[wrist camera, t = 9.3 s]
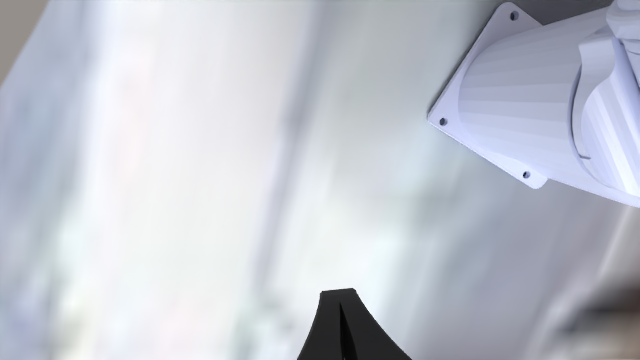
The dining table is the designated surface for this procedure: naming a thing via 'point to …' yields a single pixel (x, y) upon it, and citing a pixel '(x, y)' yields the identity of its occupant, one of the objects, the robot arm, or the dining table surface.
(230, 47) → the dining table surface
